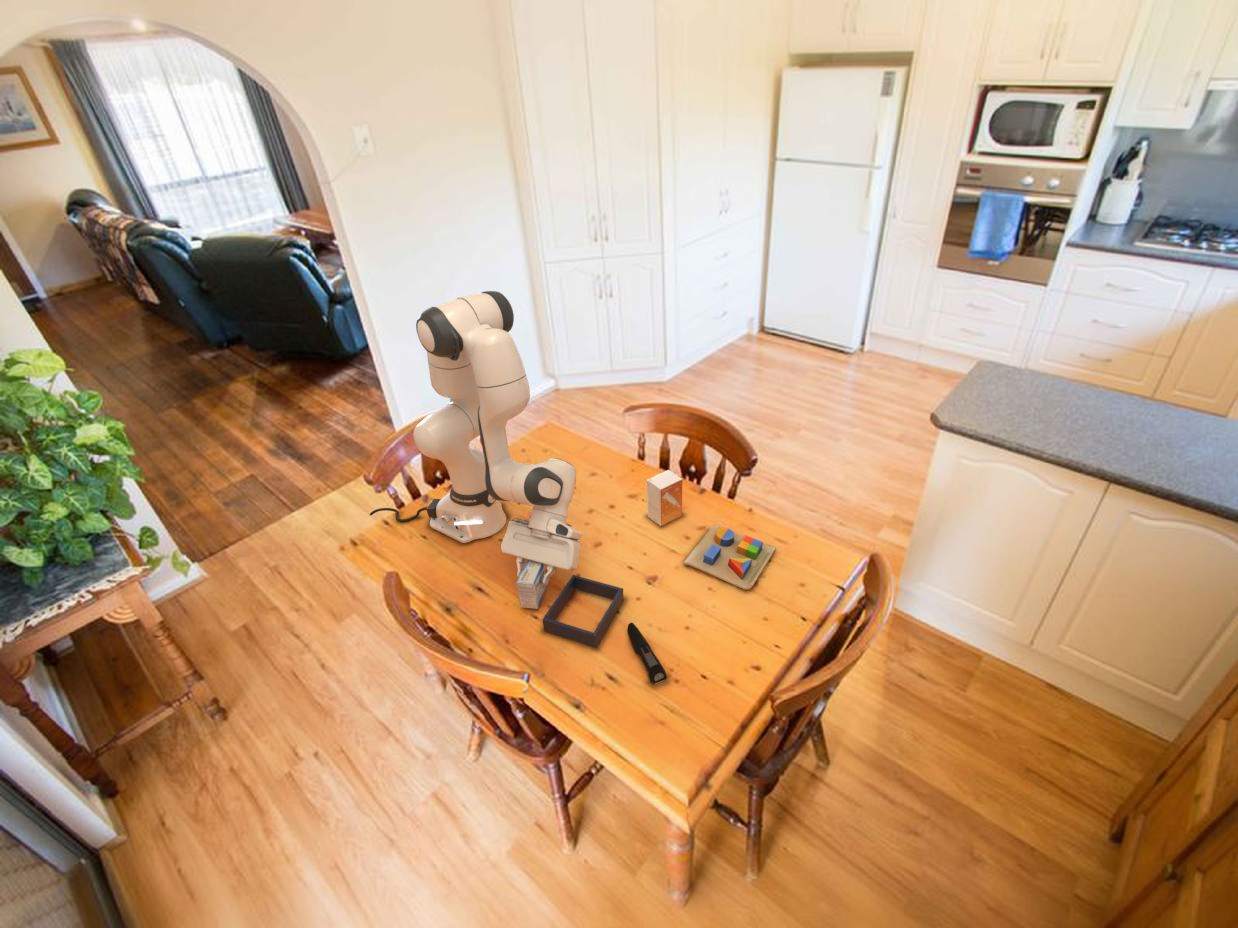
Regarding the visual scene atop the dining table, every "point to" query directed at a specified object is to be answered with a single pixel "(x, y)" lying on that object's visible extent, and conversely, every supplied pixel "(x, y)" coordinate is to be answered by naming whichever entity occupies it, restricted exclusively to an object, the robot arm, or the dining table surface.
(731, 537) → the shape puzzle
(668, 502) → the small box
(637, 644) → the electric trimmer
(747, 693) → the dining table surface
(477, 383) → the robot arm
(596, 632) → the dark rectangular frame
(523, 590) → the medicine box
